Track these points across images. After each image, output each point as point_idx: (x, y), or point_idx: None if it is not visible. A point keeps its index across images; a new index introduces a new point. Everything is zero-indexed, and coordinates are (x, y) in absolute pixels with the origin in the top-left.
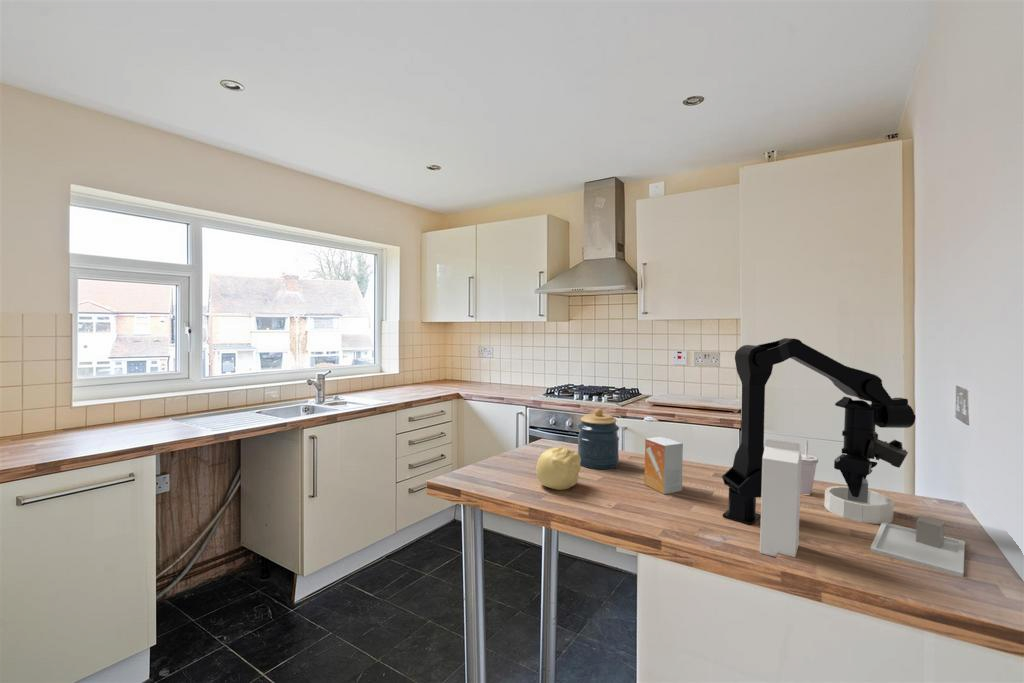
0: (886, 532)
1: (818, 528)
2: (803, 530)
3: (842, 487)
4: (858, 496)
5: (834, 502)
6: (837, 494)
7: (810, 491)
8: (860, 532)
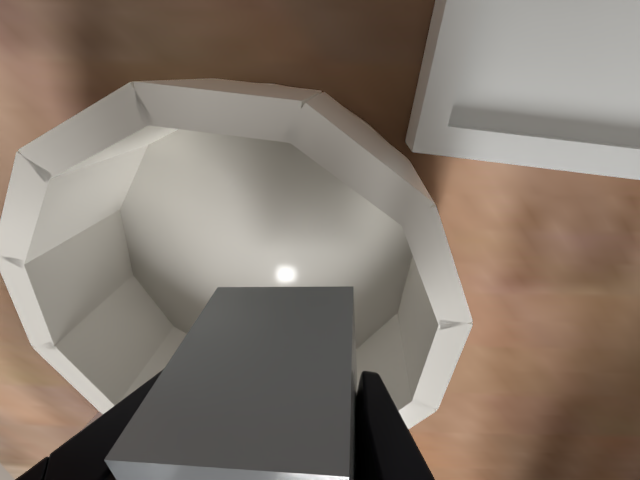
0: (579, 124)
1: (567, 386)
2: (622, 426)
3: (112, 400)
4: (371, 374)
5: None
6: None
7: None
8: (536, 244)
